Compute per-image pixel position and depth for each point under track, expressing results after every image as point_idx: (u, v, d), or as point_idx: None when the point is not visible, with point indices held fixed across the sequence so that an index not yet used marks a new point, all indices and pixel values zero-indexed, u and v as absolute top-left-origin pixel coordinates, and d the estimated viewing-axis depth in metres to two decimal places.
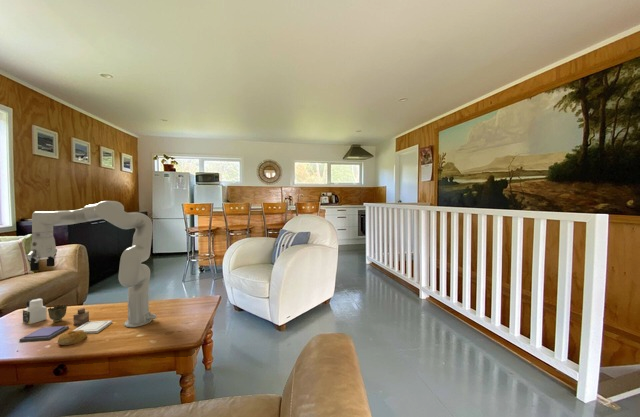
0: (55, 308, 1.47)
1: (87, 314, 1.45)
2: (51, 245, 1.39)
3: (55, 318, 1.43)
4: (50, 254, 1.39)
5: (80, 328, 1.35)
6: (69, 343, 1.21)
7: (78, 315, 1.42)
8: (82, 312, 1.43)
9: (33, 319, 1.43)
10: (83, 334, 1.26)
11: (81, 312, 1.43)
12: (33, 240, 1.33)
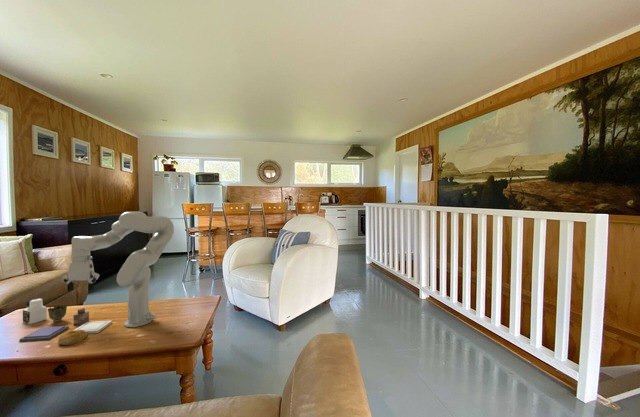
0: (55, 308, 1.47)
1: (87, 314, 1.45)
2: None
3: (55, 318, 1.43)
4: None
5: (80, 328, 1.35)
6: (69, 343, 1.21)
7: (78, 315, 1.42)
8: (82, 312, 1.43)
9: (33, 319, 1.43)
10: (83, 334, 1.26)
11: (81, 312, 1.43)
12: (89, 263, 1.44)
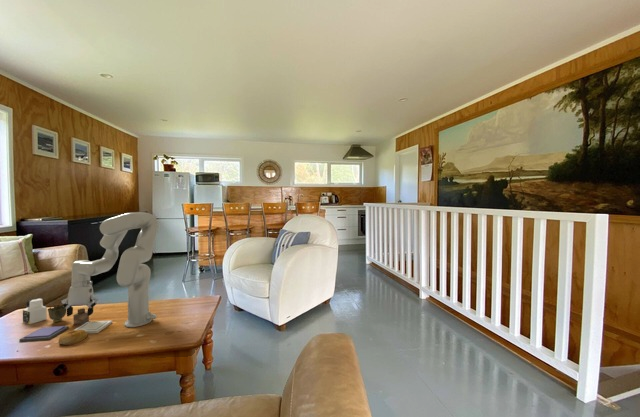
0: (55, 308, 1.47)
1: None
2: None
3: (55, 318, 1.43)
4: None
5: (80, 328, 1.35)
6: (70, 342, 1.22)
7: (78, 315, 1.42)
8: (82, 312, 1.43)
9: (33, 319, 1.43)
10: (84, 333, 1.26)
11: (81, 312, 1.43)
12: (88, 287, 1.44)
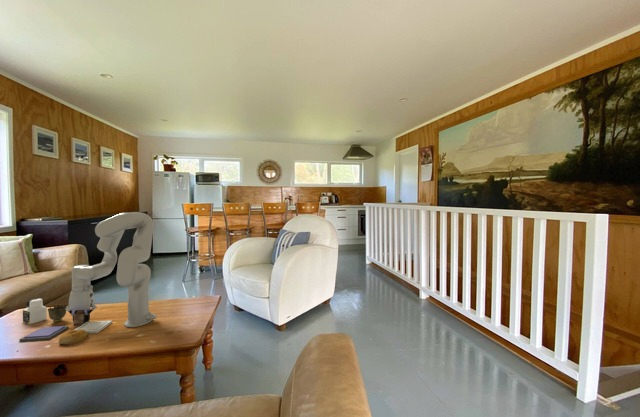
0: (55, 308, 1.47)
1: None
2: None
3: (55, 318, 1.43)
4: None
5: (80, 328, 1.35)
6: (70, 342, 1.22)
7: (78, 315, 1.42)
8: (82, 312, 1.43)
9: (33, 319, 1.43)
10: (84, 333, 1.27)
11: (81, 312, 1.43)
12: (89, 292, 1.44)
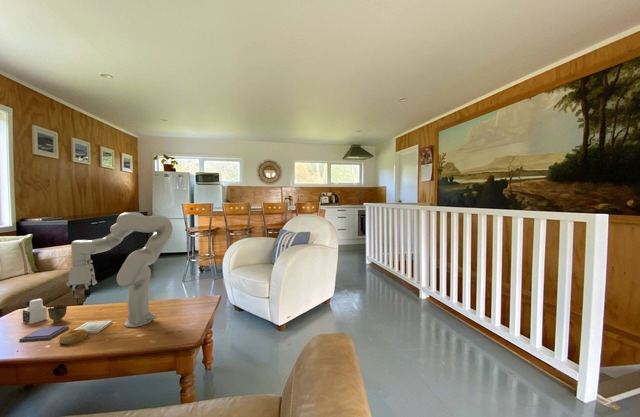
0: (55, 308, 1.47)
1: None
2: None
3: (55, 318, 1.43)
4: None
5: (80, 328, 1.35)
6: (71, 342, 1.22)
7: (79, 289, 1.42)
8: (83, 287, 1.43)
9: (33, 319, 1.43)
10: (84, 333, 1.27)
11: (82, 287, 1.43)
12: (89, 266, 1.44)
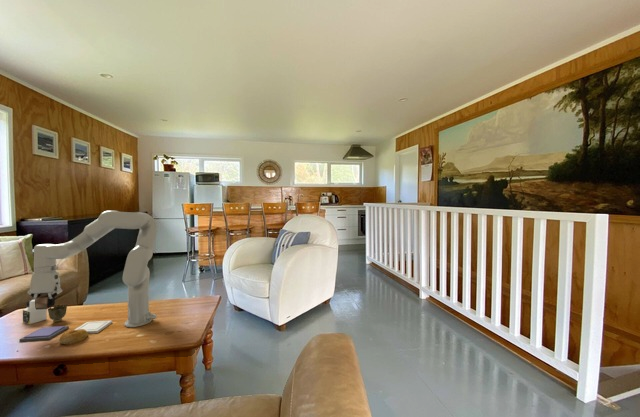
0: (55, 308, 1.47)
1: None
2: None
3: (55, 318, 1.43)
4: None
5: (80, 328, 1.35)
6: (71, 342, 1.22)
7: (41, 298, 1.29)
8: (46, 295, 1.30)
9: (33, 319, 1.43)
10: (85, 333, 1.27)
11: (45, 295, 1.30)
12: (53, 273, 1.30)
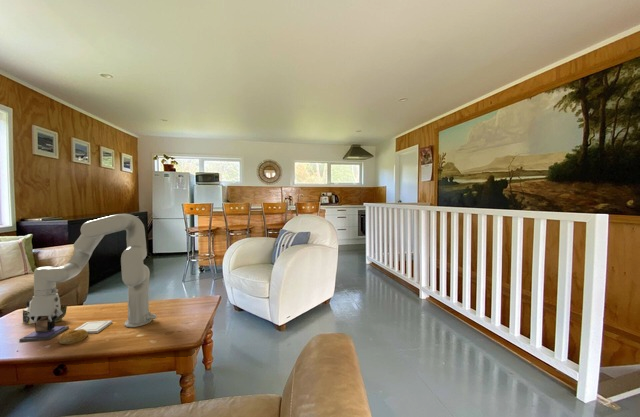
0: None
1: None
2: None
3: None
4: None
5: (80, 328, 1.35)
6: (71, 342, 1.22)
7: (41, 321, 1.29)
8: (46, 318, 1.30)
9: None
10: (84, 333, 1.27)
11: (45, 318, 1.30)
12: (54, 296, 1.31)
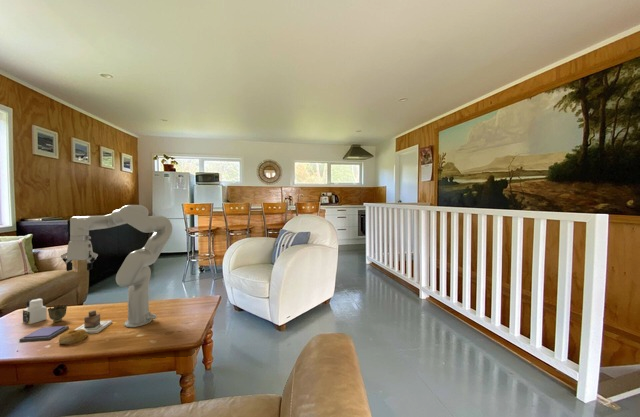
0: (55, 308, 1.47)
1: (98, 317, 1.39)
2: None
3: (55, 318, 1.43)
4: None
5: (80, 328, 1.35)
6: (70, 342, 1.22)
7: (89, 318, 1.36)
8: (93, 314, 1.37)
9: (33, 319, 1.43)
10: (84, 333, 1.27)
11: (92, 314, 1.37)
12: (87, 242, 1.45)
